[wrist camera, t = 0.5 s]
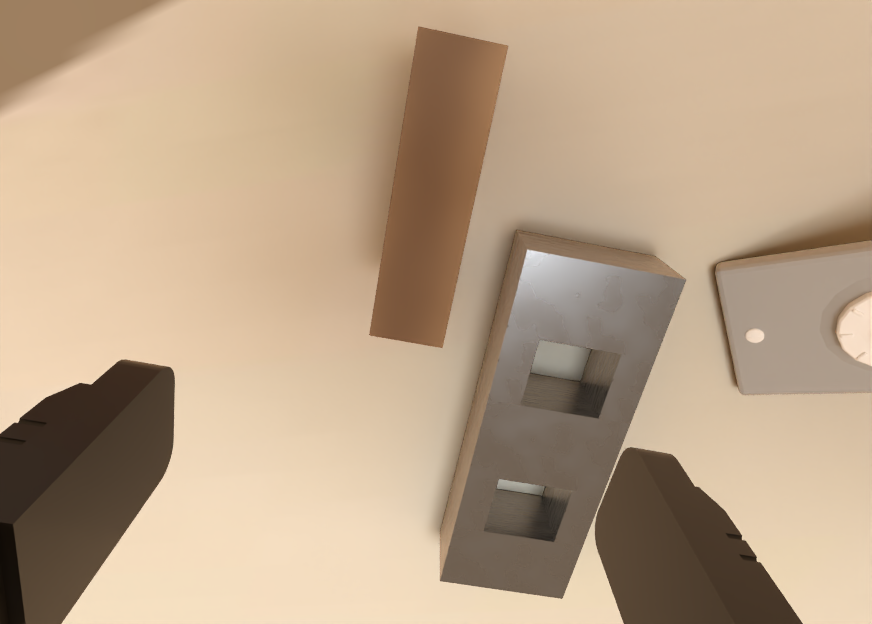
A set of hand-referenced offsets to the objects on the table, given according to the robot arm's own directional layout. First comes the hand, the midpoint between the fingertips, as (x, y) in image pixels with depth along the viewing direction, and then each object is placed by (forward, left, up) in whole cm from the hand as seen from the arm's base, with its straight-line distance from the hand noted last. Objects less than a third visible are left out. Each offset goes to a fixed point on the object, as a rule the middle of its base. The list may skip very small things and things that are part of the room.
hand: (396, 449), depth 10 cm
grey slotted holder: (-9, +11, -21) cm, 26 cm away
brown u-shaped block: (0, -2, -21) cm, 21 cm away
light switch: (-24, 0, -21) cm, 32 cm away
